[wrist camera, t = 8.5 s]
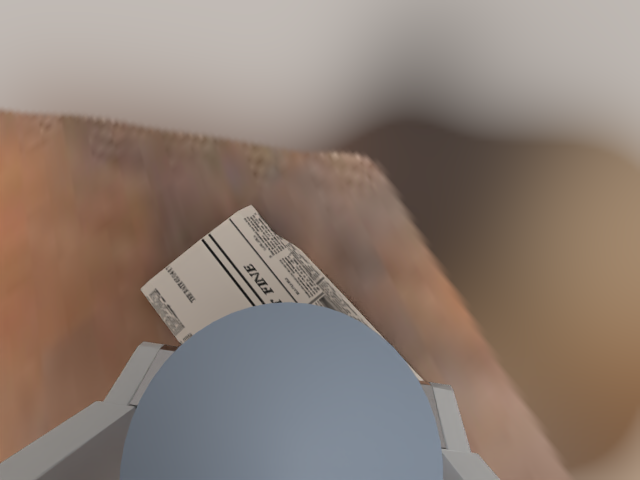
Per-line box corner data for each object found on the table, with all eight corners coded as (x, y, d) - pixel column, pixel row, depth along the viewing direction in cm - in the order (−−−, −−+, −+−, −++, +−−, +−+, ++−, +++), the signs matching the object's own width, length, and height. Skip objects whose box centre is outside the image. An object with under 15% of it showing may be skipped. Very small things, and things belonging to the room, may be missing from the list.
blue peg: (223, 432, 13) (77, 639, 5) (246, 308, 14) (162, 282, 6) (346, 449, 13) (431, 683, 5) (359, 325, 14) (452, 323, 6)
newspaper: (451, 411, 28) (462, 422, 26) (325, 523, 27) (325, 546, 25) (264, 187, 31) (259, 178, 29) (146, 281, 30) (130, 280, 28)
